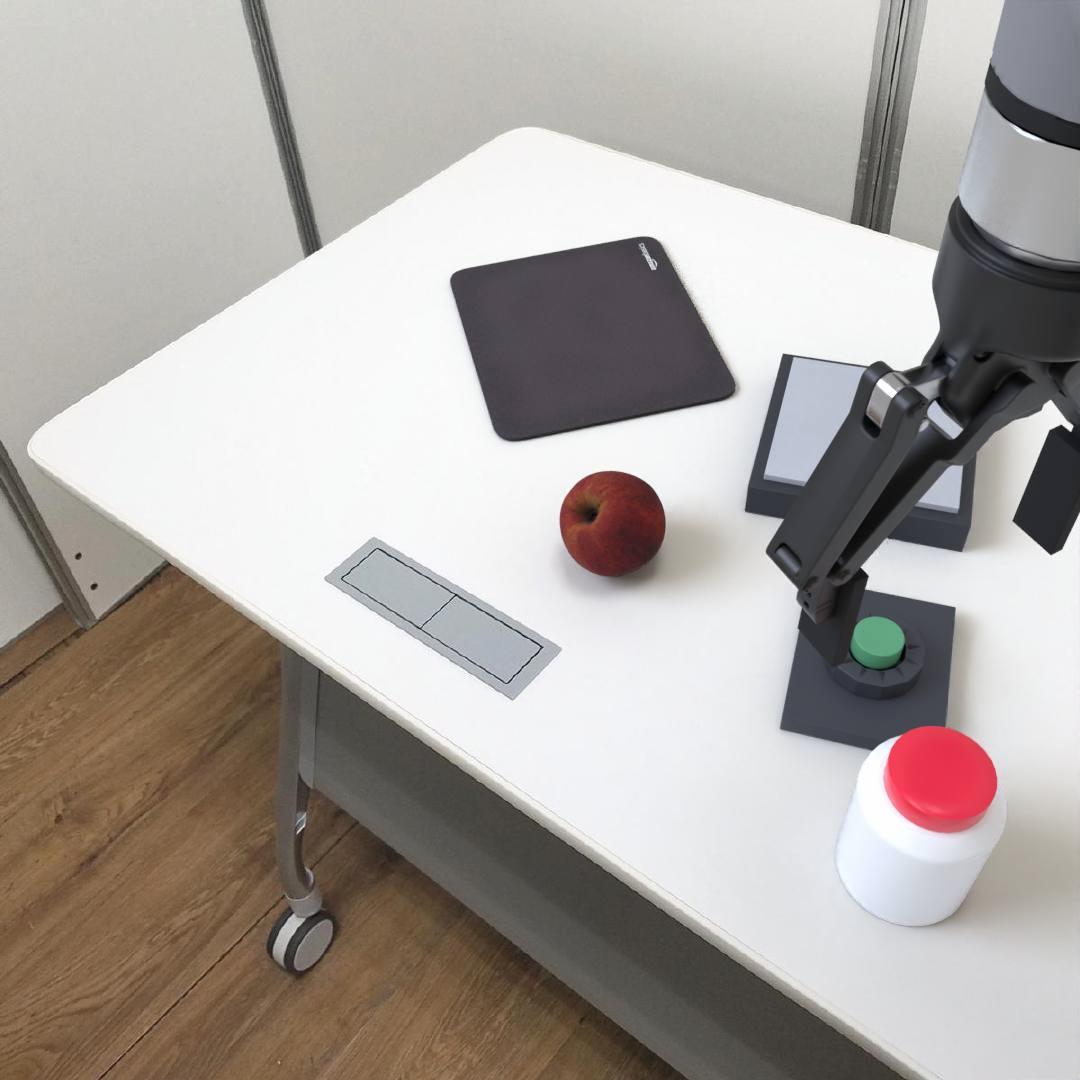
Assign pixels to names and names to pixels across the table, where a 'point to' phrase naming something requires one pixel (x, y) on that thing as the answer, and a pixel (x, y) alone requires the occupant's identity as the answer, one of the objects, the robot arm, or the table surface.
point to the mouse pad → (586, 338)
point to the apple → (612, 523)
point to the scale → (808, 429)
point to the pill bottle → (920, 825)
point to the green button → (877, 642)
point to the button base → (875, 679)
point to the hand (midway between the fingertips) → (932, 588)
